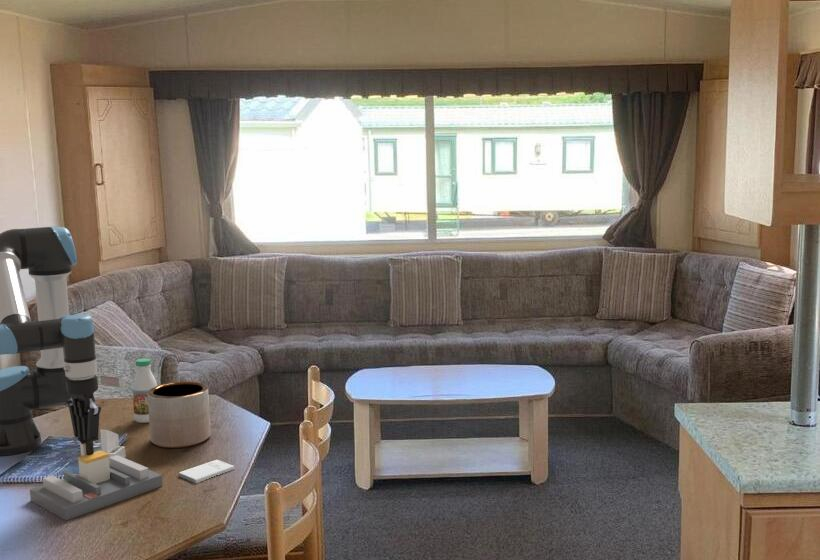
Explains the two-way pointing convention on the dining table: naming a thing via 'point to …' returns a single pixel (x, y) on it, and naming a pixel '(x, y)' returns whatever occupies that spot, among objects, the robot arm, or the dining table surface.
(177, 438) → the planter
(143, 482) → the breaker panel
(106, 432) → the white angled block
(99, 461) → the block
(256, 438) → the dining table surface
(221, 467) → the external hard drive
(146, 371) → the milk bottle
